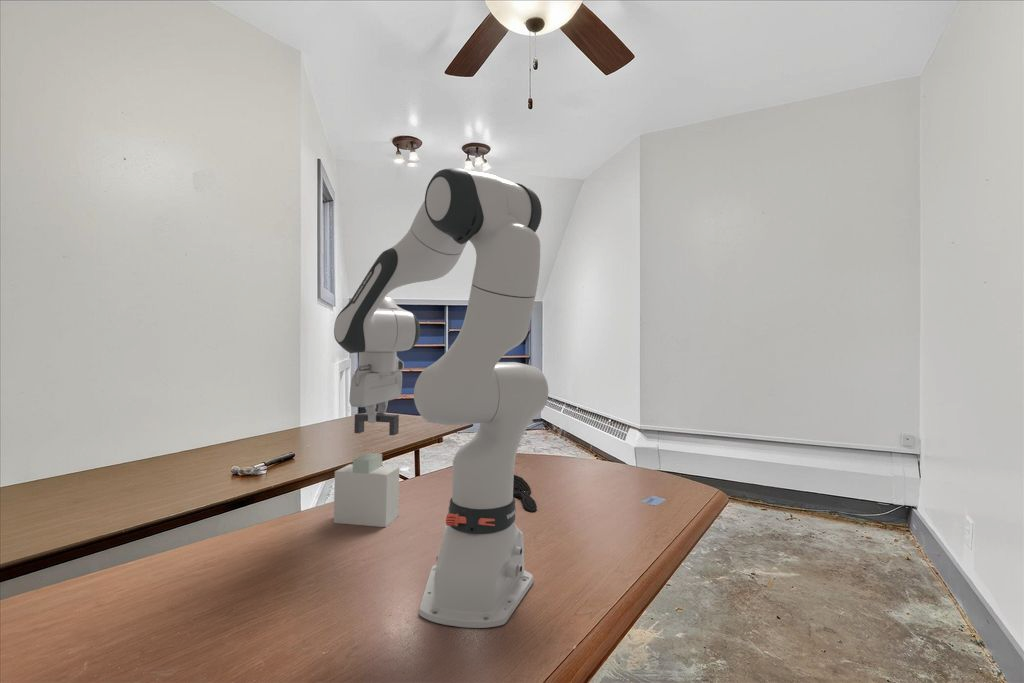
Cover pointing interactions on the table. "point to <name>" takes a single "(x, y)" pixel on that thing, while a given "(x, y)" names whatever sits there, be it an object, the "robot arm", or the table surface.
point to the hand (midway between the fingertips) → (376, 421)
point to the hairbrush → (523, 493)
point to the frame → (389, 418)
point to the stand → (366, 492)
